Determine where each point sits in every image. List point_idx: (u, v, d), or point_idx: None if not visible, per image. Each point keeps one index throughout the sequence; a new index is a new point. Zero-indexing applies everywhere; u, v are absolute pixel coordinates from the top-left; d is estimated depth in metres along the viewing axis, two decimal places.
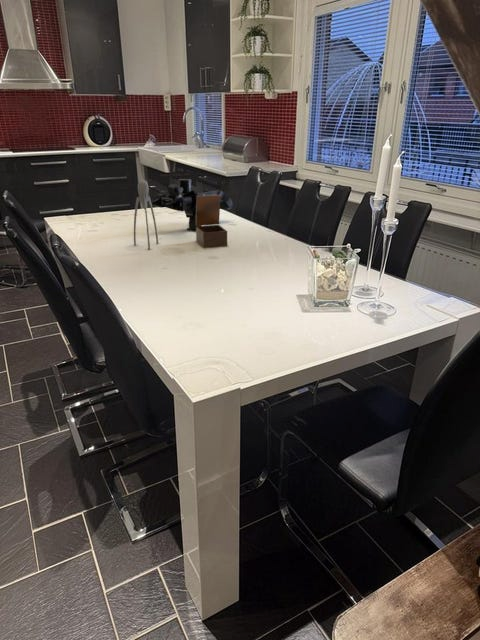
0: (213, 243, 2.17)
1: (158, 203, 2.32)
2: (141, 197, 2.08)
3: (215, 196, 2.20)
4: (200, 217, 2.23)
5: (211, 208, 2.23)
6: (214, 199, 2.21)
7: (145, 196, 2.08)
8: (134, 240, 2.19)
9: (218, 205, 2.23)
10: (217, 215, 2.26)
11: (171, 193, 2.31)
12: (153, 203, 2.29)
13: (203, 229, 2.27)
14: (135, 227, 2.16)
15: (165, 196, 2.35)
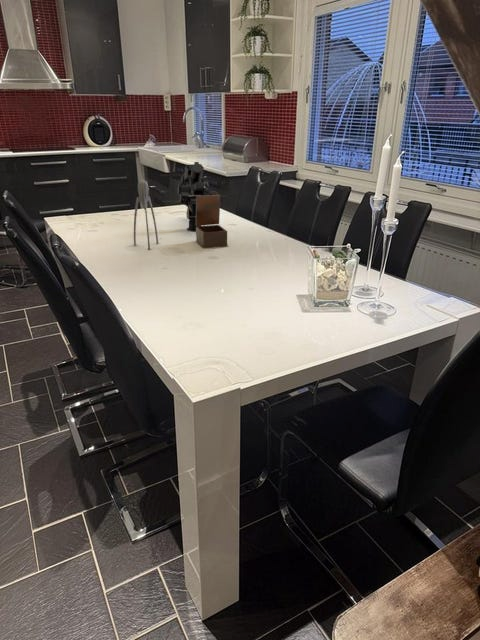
0: (213, 243, 2.17)
1: None
2: (141, 197, 2.08)
3: (215, 196, 2.20)
4: (200, 217, 2.23)
5: (211, 208, 2.23)
6: (214, 199, 2.21)
7: (145, 196, 2.08)
8: (134, 240, 2.19)
9: (218, 205, 2.23)
10: (217, 215, 2.26)
11: (198, 190, 2.31)
12: None
13: (203, 229, 2.27)
14: (135, 227, 2.16)
15: (188, 192, 2.32)
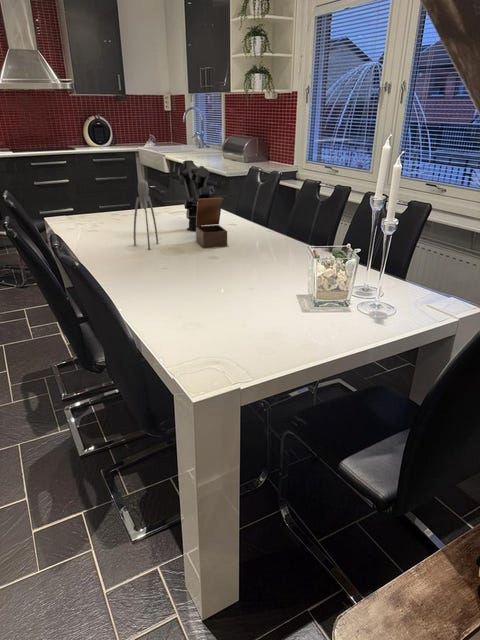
0: (213, 243, 2.17)
1: None
2: (141, 197, 2.08)
3: (217, 199, 2.18)
4: (200, 218, 2.23)
5: (212, 210, 2.22)
6: (216, 202, 2.19)
7: (145, 196, 2.08)
8: (134, 240, 2.19)
9: (219, 207, 2.22)
10: (218, 216, 2.25)
11: (203, 195, 2.24)
12: None
13: (203, 229, 2.27)
14: (135, 227, 2.16)
15: (193, 197, 2.24)
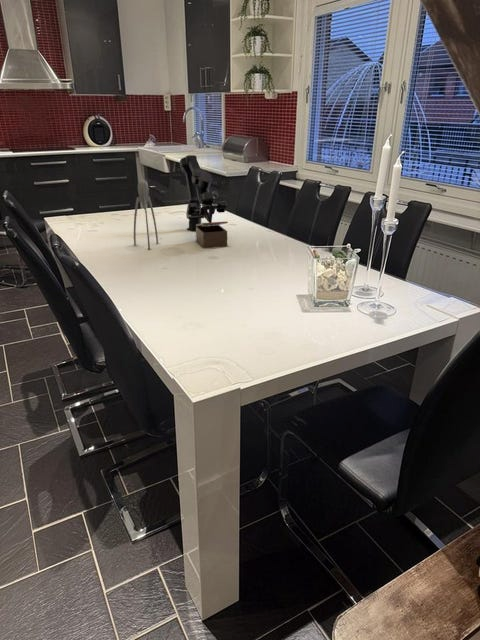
0: (213, 243, 2.17)
1: None
2: (141, 197, 2.08)
3: (222, 223, 2.15)
4: (202, 225, 2.22)
5: (214, 224, 2.20)
6: None
7: (145, 196, 2.08)
8: (134, 240, 2.19)
9: None
10: (219, 224, 2.24)
11: (206, 200, 2.20)
12: None
13: (203, 229, 2.27)
14: (135, 227, 2.16)
15: (196, 202, 2.20)
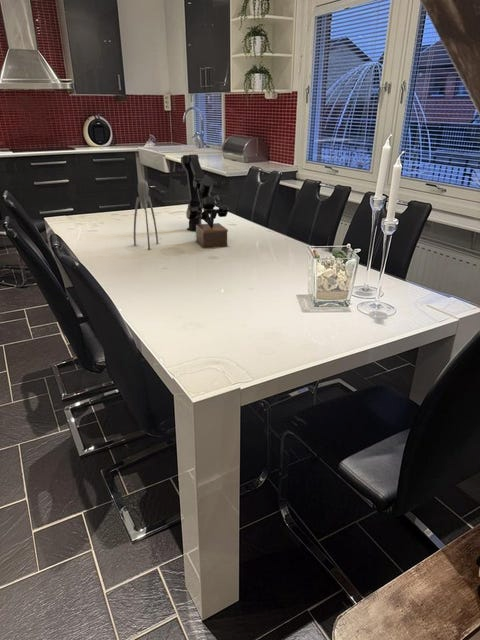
0: (213, 243, 2.17)
1: None
2: (141, 197, 2.08)
3: (222, 231, 2.16)
4: None
5: None
6: None
7: (145, 196, 2.08)
8: (134, 240, 2.19)
9: None
10: None
11: (207, 204, 2.18)
12: None
13: None
14: (135, 227, 2.16)
15: (197, 207, 2.19)
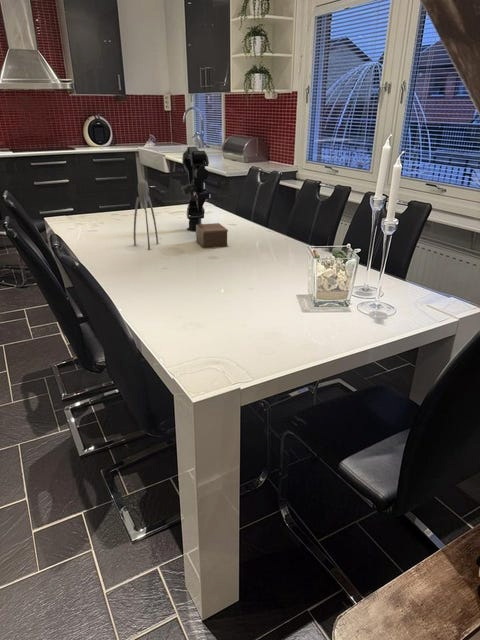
0: (213, 243, 2.17)
1: None
2: (141, 197, 2.08)
3: (222, 231, 2.16)
4: None
5: None
6: None
7: (145, 196, 2.08)
8: (134, 240, 2.19)
9: None
10: None
11: None
12: None
13: None
14: (135, 227, 2.16)
15: None
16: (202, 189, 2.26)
